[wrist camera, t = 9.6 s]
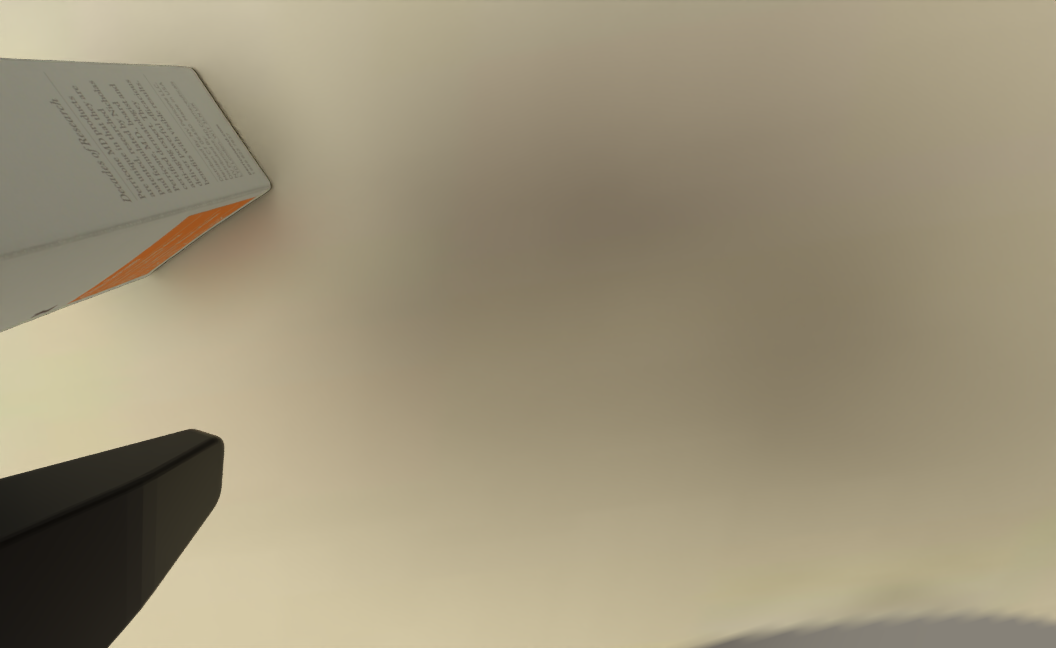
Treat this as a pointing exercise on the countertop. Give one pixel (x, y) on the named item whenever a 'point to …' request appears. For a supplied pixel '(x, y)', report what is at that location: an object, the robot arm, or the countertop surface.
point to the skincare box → (107, 177)
